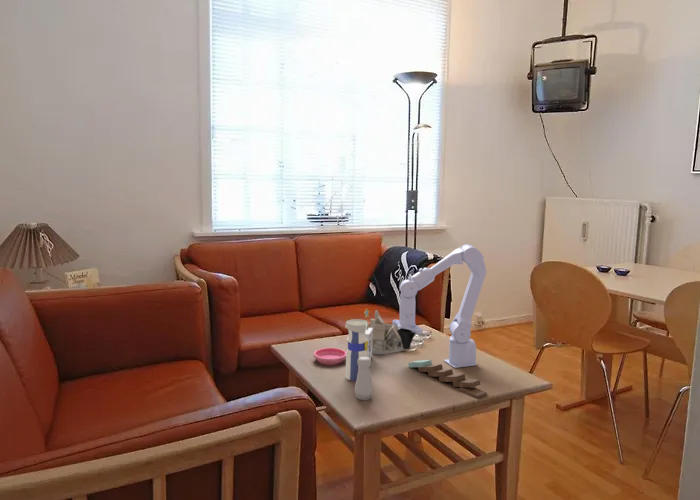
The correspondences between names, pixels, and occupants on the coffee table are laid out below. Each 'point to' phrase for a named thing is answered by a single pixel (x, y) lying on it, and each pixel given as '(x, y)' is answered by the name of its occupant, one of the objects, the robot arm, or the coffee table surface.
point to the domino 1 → (420, 363)
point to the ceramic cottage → (384, 336)
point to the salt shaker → (363, 379)
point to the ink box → (369, 341)
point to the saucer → (330, 356)
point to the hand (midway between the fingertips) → (406, 348)
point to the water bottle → (356, 345)
